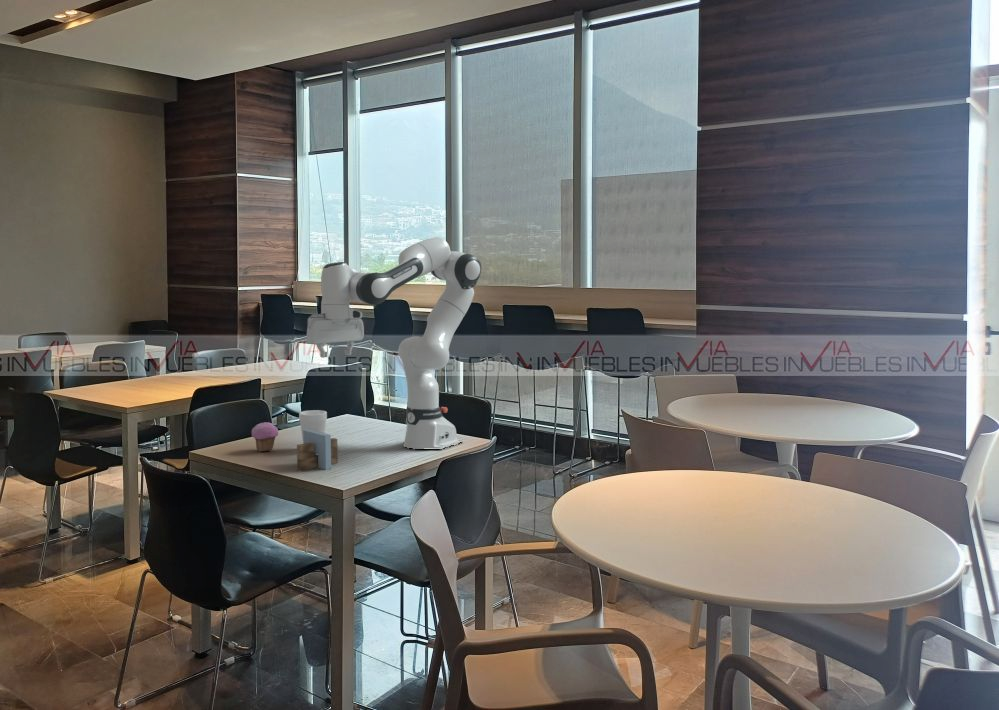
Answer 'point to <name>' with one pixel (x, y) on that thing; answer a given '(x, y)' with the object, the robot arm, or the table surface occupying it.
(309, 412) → the foam cup
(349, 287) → the robot arm
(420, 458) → the table surface
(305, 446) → the notched wood cradle
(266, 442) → the cupcake
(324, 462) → the pale blue arch brick
